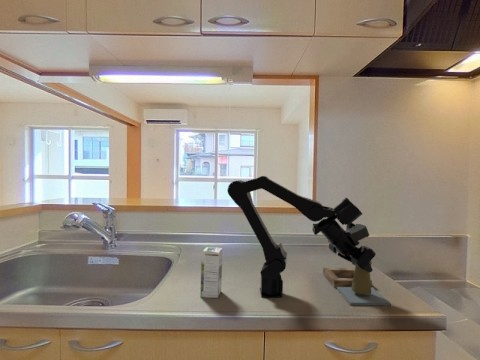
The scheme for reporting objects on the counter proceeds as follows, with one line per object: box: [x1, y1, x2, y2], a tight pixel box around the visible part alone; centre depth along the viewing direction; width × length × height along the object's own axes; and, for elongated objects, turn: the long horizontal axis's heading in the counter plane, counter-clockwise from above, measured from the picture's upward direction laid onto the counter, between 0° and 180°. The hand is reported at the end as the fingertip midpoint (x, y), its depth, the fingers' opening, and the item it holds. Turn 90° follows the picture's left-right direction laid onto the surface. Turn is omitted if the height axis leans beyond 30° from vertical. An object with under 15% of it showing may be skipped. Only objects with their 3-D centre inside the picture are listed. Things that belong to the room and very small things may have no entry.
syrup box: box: [199, 246, 224, 299], centre depth 97 cm, size 6×6×14 cm
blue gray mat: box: [336, 286, 391, 307], centre depth 97 cm, size 12×12×1 cm
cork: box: [351, 260, 373, 295], centre depth 97 cm, size 6×6×11 cm
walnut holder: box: [322, 267, 373, 289], centre depth 111 cm, size 13×13×2 cm
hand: (366, 268), depth 97 cm, fingers closed on cork, 5 cm apart
